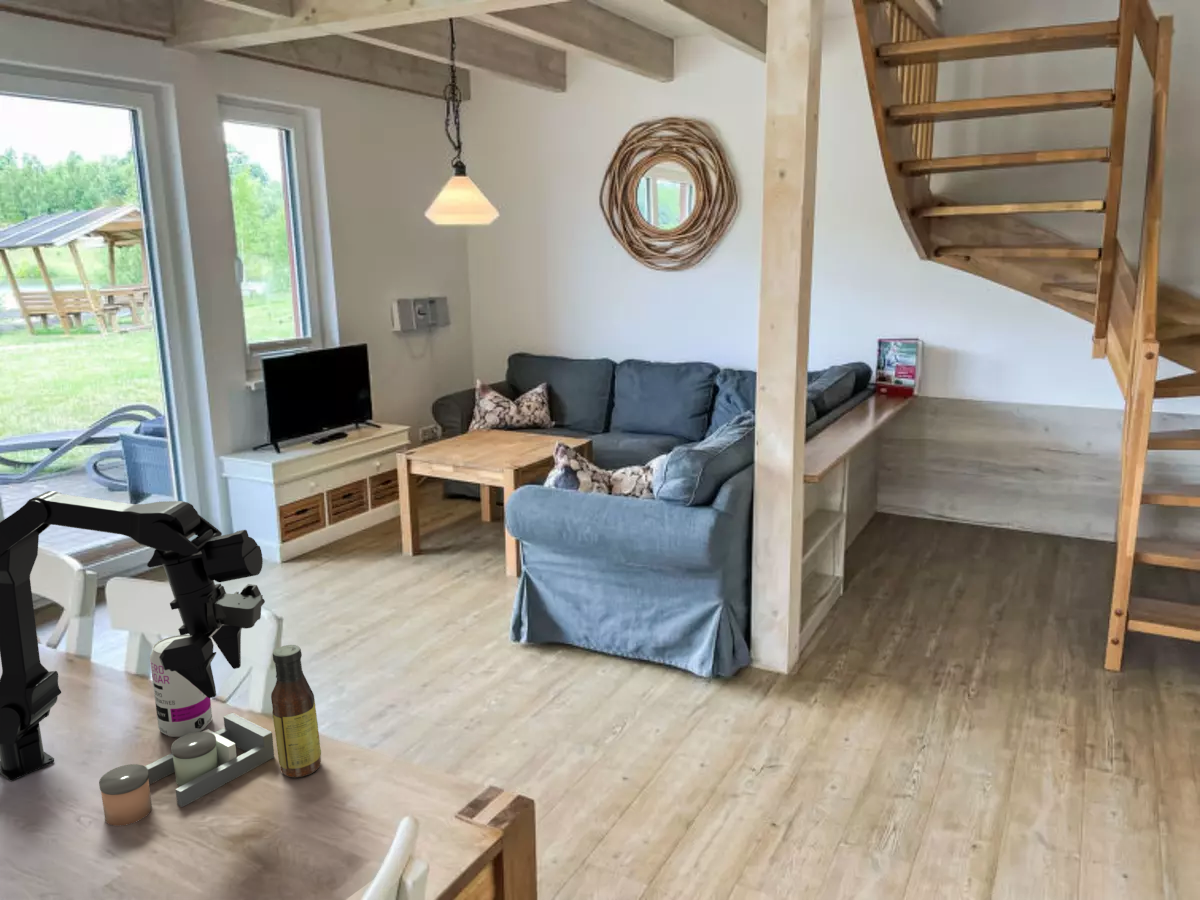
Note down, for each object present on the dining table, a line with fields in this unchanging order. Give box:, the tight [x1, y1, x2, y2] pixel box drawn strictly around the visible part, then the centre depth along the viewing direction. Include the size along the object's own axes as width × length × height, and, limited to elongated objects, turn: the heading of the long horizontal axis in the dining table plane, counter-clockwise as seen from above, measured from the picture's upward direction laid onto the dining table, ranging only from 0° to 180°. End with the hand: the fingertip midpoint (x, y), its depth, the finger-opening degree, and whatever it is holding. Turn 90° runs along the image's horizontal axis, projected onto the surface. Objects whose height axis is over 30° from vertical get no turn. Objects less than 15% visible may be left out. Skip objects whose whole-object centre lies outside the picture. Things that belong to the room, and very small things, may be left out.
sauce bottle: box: [270, 644, 322, 778], centre depth 138 cm, size 6×6×20 cm
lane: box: [144, 712, 275, 808], centre depth 140 cm, size 10×16×4 cm
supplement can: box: [149, 634, 213, 738], centre depth 151 cm, size 8×8×15 cm
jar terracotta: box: [98, 763, 153, 827], centre depth 129 cm, size 6×6×6 cm
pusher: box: [202, 728, 238, 767], centre depth 141 cm, size 7×1×4 cm, turn 55°
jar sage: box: [170, 731, 219, 787], centre depth 138 cm, size 6×6×6 cm
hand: (225, 682), depth 137 cm, fingers open, 9 cm apart
